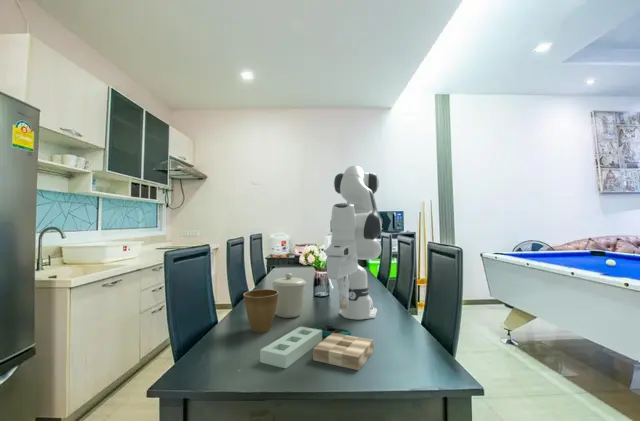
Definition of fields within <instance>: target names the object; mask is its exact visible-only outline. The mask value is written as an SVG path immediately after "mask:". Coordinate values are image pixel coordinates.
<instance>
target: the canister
mask: <svg viewBox="0 0 640 421" xmlns="http://www.w3.org/2000/svg"><path fill="white" fill-rule="evenodd" d="M270 284H271V287H272V288H271V290H276V291H278V300H277V306H276V311H275V315H276V316H278V317H280V318H284V319H292V318H297V317H299V316H301V314H302V313H303V308H304V301H305V292H306V285H307V281H306V280H305V279H303V278H300V277H293V273H291V272H287V273H286V274H285V277H279V278H276V279H273V281H271V282H270Z"/></svg>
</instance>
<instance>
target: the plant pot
mask: <svg viewBox="0 0 640 421" xmlns="http://www.w3.org/2000/svg"><path fill="white" fill-rule="evenodd" d="M277 300H278V291H276V290H273V289H269V288H268V289H266V288H265V289H264V288H263V289H262V288H261V289H254V290H250V291H246V292H244V293H243V302H244V308H245V312H246V315H247V319H248V321H249V322H248V323H249V325H250V327H251V330H252V332H253V333H256V334H264V333H267V332H269V331H270V330H271V328H272V324H273V322H274V318H275V315H276V313H275V311H276V306H277Z"/></svg>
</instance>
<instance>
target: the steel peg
mask: <svg viewBox="0 0 640 421" xmlns="http://www.w3.org/2000/svg"><path fill="white" fill-rule="evenodd" d="M343 283H344V284H345V289H344V290H339V289H338V292H339V309H340V310H341V309H348V308H349V282H348V275H347V276H345V277H344V280H343Z"/></svg>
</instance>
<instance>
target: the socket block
mask: <svg viewBox="0 0 640 421" xmlns="http://www.w3.org/2000/svg"><path fill="white" fill-rule="evenodd" d="M374 345H375V343H374V339H370V338H365V337H359V336H353V335H351V336H348V335H342V334H336V333H332V334H331V335H329V336H328V337H325V338H324V339H322V341H321V342H320V343H318V344H317V345H316V346H314V347H313V348H312V357H313V358H312V359H313V360H312V361H315V362H319V363H325V364H329V365H334V366H338V367H340V368H341V367H343V368H347V369H352V370H355V371H360V369H361V368H362V367H363V366H364V365H365V363H366V362H367V360H368V359H369V358H370V357H371V355H372V354H373V352H374V351H375V350H374V347H375V346H374Z"/></svg>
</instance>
